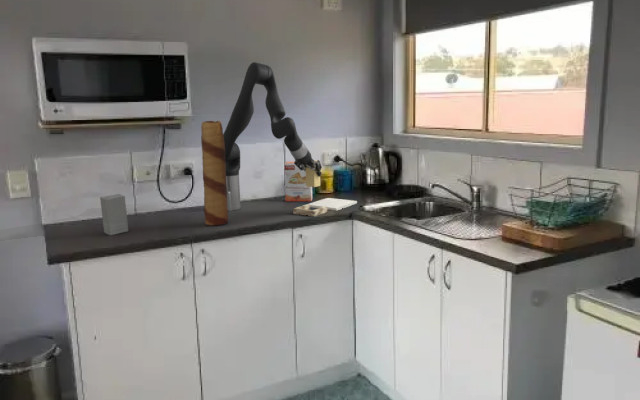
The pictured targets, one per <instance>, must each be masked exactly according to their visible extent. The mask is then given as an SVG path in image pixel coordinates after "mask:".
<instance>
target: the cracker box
mask: <svg viewBox="0 0 640 400" xmlns="http://www.w3.org/2000/svg"><path fill="white" fill-rule="evenodd" d="M294 162H295V161H285V162H284V191H285V192H284V193H285V194H284V195H285V199H284V200H285V202H299V203H300V202H302V203H303V202H304V203H305V202H307V203H312V201H313V187H308V186H306V172H305V171H304V170H300V169H299V168H298V167H297V166H296V165H295V164H294ZM300 167H301V165H300Z"/></svg>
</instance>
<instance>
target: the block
mask: <svg viewBox="0 0 640 400" xmlns="http://www.w3.org/2000/svg"><path fill="white" fill-rule="evenodd" d="M313 160H314V159H313ZM314 161H317V160H314ZM313 166H314V164H313ZM313 166H312V167H313ZM315 169H316V167H315ZM306 186H308V187H312V188H316V187H321V176H320V177H318V175H317V174H316V172H315V171H314V170H311V169H310V168H309V167H306Z"/></svg>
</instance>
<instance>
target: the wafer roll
mask: <svg viewBox="0 0 640 400" xmlns="http://www.w3.org/2000/svg"><path fill="white" fill-rule="evenodd" d="M200 127H201V130H200V131H201V138H200V139H201V143H200V144H201V153H202V155H201V156H202V180H203V188H204V189H203V190H204V191H203V196H204V197H203V203H204V204H203V209H204V210H203V212H204V222H205V223H204V224H205V225H207V226H220V225H221V226H222V225H226V224H228V223H229V211H228V209H227V187H226V162H225V142H224V135H223V134H224V132H223V124H222V122H221V121H220V120H216V121H214V120H205V121H202V122H201V126H200Z"/></svg>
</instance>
